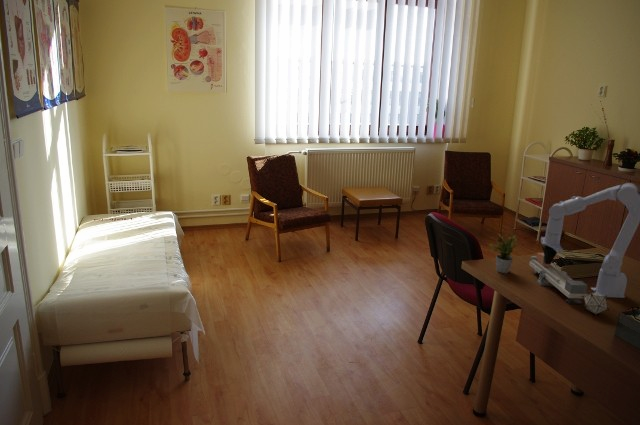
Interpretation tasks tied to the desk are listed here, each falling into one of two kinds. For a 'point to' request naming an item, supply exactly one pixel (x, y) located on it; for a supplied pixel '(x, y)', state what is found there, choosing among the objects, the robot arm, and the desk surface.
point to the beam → (560, 280)
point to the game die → (595, 302)
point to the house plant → (504, 254)
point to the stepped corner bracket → (547, 283)
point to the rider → (541, 260)
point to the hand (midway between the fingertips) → (547, 263)
